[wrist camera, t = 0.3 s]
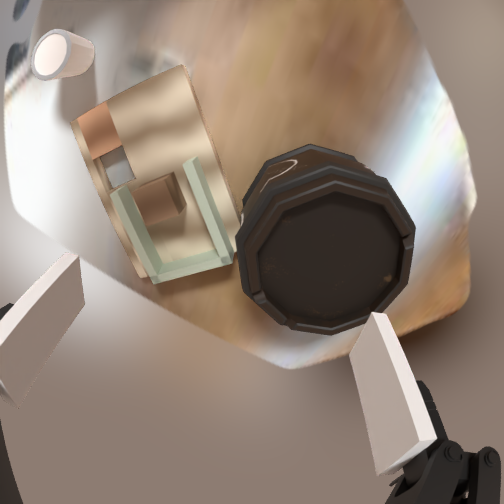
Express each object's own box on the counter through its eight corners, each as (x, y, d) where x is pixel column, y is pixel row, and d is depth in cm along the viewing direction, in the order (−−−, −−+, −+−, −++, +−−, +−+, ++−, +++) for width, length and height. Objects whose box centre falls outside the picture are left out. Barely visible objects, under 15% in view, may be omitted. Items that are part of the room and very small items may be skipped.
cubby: (119, 187, 37) (109, 194, 35) (197, 156, 35) (192, 160, 33) (159, 272, 43) (153, 284, 41) (234, 252, 41) (232, 263, 39)
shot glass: (106, 57, 31) (79, 52, 25) (72, 89, 33) (42, 91, 26) (86, 25, 28) (58, 18, 22) (53, 58, 30) (23, 57, 24)
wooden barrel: (230, 256, 44) (215, 331, 30) (257, 129, 36) (253, 147, 22) (348, 279, 45) (377, 354, 31) (390, 166, 37) (451, 206, 23)
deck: (77, 121, 35) (69, 122, 33) (185, 66, 32) (181, 64, 30) (144, 271, 46) (140, 278, 44) (249, 241, 43) (248, 248, 41)
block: (143, 183, 37) (131, 192, 34) (173, 171, 36) (164, 179, 33) (156, 214, 39) (146, 226, 35) (186, 203, 38) (179, 215, 35)
